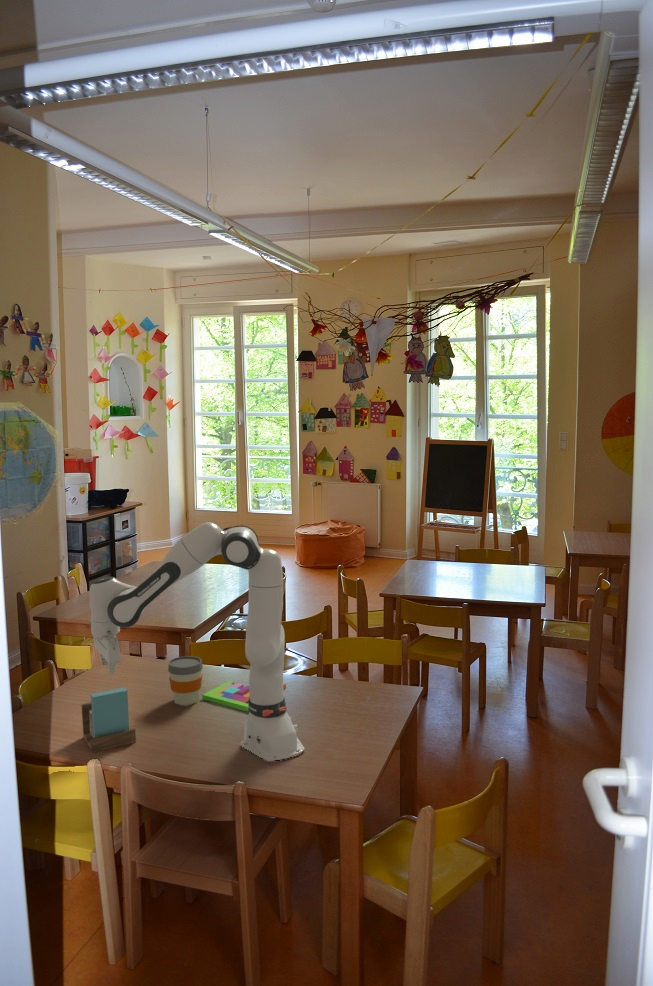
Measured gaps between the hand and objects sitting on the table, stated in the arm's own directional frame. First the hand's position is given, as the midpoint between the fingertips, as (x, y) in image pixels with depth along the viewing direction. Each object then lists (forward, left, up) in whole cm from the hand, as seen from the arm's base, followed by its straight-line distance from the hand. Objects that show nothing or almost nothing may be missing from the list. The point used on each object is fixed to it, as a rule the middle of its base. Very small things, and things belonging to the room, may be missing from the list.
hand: (108, 668), depth 249 cm
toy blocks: (+15, -55, -26) cm, 63 cm away
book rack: (+3, 0, -25) cm, 26 cm away
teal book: (0, 0, -24) cm, 24 cm away
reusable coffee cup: (+21, -33, -26) cm, 47 cm away
